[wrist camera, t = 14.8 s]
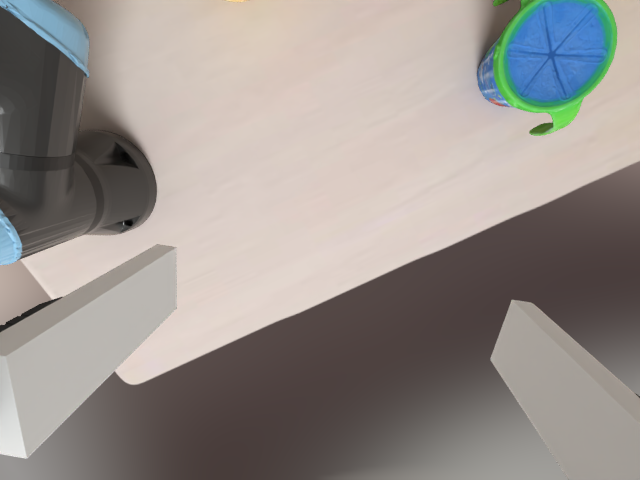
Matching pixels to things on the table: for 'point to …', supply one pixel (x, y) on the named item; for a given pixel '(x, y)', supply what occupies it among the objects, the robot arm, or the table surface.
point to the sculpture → (236, 0)
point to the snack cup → (549, 58)
